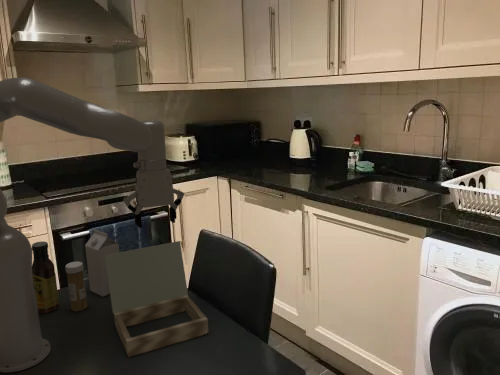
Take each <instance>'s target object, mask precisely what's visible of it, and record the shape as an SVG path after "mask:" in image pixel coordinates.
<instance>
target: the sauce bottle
mask: <svg viewBox="0 0 500 375" xmlns="http://www.w3.org/2000/svg"><path fill="white" fill-rule="evenodd" d="M31 248H32V275H33V283H34V290H35V296H36V302H37V309H38V314H39V313H41V314H46V313H51V312H53V311H55V310H58V308H59V293H58V292H59V291H58V284H57V276H56V272H55V271H56V270H55V264H54V262H53V261H52V260H51V259H50V258H49V257H50V255H49V250H48V249H49V244H48V242H47V241H36V242H34V243H32V244H31Z"/></svg>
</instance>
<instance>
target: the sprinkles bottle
mask: <svg viewBox="0 0 500 375" xmlns="http://www.w3.org/2000/svg"><path fill="white" fill-rule="evenodd" d="M83 264H84V263H83V262H82V261H71V262H69V263H67V264H66V265H65V267H64V268H65V273H66V277H67V286H68V288H67V289H68V294H69V302H70V310H71V311H73V312H81V311H84V310H86V309H87V308H88V301H87V292H86V284H85V279H84V278H85V277H84V265H83Z"/></svg>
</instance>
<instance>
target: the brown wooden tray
mask: <svg viewBox="0 0 500 375" xmlns="http://www.w3.org/2000/svg"><path fill="white" fill-rule="evenodd" d="M183 312H186V314H187V315H188V316H189V317H190V319H191V320H190V321H186V322H183V323H178V324H175V325H173V326H169V327H165V328H160V329H158V330H155V331H151V332H147V333H144V334H139V335H136V336H133V337H132V336H131V334H130V332H129V331H128V329H127V327H131V326H134V325H139V324H142V323H145V322H150V321H154V320H157V319H160V318H164V317H168V316H171V315H175V314H176V315H177V314H180V313H183ZM113 315H114V324H115V326H114V327H115V329H116V331H117V332H116V333H118V336H119V338H120V341H121V344H122V346H123V349H124V350H125V352H126V355H127V357H128V358H132V357H134V356H137V355H141V354H144V353H147V352H150V351H154V350H158V349H161V348H163V347H167V346H171V345H174V344H177V343H180V342H181V343H182V342H184V341H187V340H188V341H189V340H191V339H194V338H198V337H201V336H204V334H205V335H207V333H208V334H209V323H208V322H209V321H208V320H209V318H207V316H206V315H205V313H204V312H202V310H201V309H200V308H199V307H198V305H196V303H195V302H194V301H193V300H192V299H191V298H190V296H189V294H188V295H186V296H182V297H178V298H174V299H170V300H166V301H162V302H158V303H154V304H150V305H146V306H142V307H138V308H134V309H130V310H126V311H122V312H118V313H114V314H113Z"/></svg>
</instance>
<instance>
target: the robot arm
mask: <svg viewBox="0 0 500 375" xmlns="http://www.w3.org/2000/svg"><path fill="white" fill-rule="evenodd" d="M16 116H19V117H23V118H26V119H29V120H32V121H34V122H38V123H41V124H44V125H47V126H50V127H52V128H54V129H58V130H60V131H63V132H65V133H68V134H73V135H76V136H81V137H86V138H91V139H92V138H93V139H97V140H100V141H105V142H107V144H108V145H109V146H111V147H112V148H114V149H116V150H122V151H129V152H135V153H137V158H138V159H137V161H136V162H133V164H132V165H133V168H135V169H138V170H137V171H136V174H135V186H134V187H135V191H134V192H132V193H130V194H129V195H128V196H126V197H124V198H123V199H122V201H123V203H124V205H125V206H126V208H127V209H128V210H129V211H130V212H132V213H133V214H134V217H133V218H134V224H135V225H136V226H137V227H138V228H139V229H142V228H143V224H142V221H143V219H142V213H141V211H142V210H143V209H144V208H154V207H162V206H169V207H168V213H169V215H168V216H169V221H170V222H171V223H173V224H174V223H176V220H177V209H178V207H179V205H181V204H182V201H183V198H184V196H185V192H183V191H181V190H178V189H176V188H174V185H173V184H174V183H173V179H172V178H173V177H172V174H171V170H170V169H169V168H167V157H166V156H167V154H166V138H165V137H166V135H165V134H166V133H165V124H164V123H163V122H162V121H160V120H141V121H140V120H138V119H135V118H133V117H132V116H128V115H126V114H124V113H121V112H118V111H115V110H112V109H110V108H107V107H103V106H101V105H98V104H95V103H93V102H90V101H87V100H85V99H82V98H79V97H77V96H74V95H72V94H69V93H66V92H64V91H62V90H60V89H57V88H55V87H52V86H51V85H48V84H46V83H43V82H41V81H38V80H36V79H33V78H30V77H25V76H21V77H20V76H19V77H10V78H5V79H2V80H0V123H2V122H5V121H8V120H10V119H12V118H15V117H16ZM175 195H177V197H176V198H175ZM132 200H135V202H136V204H135V205H134V206H133V205H132V204H131V202H132ZM7 213H8V202H7V200H6V197H5V195H4V192H3V191H2V189H1V188H0V373H15V372H21V371H24V370H26V369H30V368H32V367H34V366H36V365H38V364H40V363H41V362H42V361H44V360H45V359H46V358H47V356H49V354H50V352H51V343H50V341H49V340H47V339H45V338H43V337H42V330H41V325H40V317H39V312H38V309H37V302H36V296H35V290H34V283H33V275H32V264H33V250H32V244H31V243H30V241H29V239H28V238H27V236H26V235H25V234H24V233H23V232H22V231H20V229H19V230H18V229H17V228H15V227H13V226H11V225H9V224H8V223H7V220H6V218H5V217H6V215H7Z"/></svg>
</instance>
